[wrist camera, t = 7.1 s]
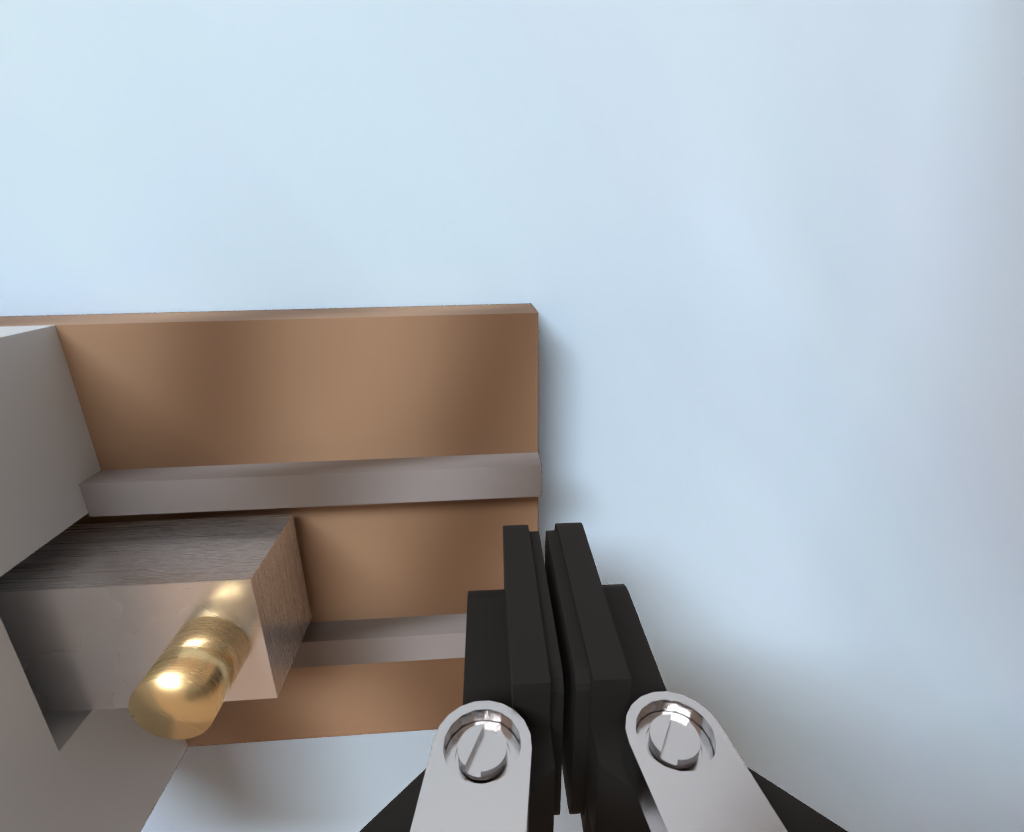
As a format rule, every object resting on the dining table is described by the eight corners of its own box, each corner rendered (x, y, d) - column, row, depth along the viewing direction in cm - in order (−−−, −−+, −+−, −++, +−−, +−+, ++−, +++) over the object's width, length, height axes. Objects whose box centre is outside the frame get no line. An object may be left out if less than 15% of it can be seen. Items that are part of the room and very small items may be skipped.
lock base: (531, 303, 13) (541, 317, 11) (532, 680, 17) (540, 744, 15) (-125, 319, 12) (-252, 338, 10) (45, 712, 16) (-20, 784, 14)
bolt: (292, 514, 12) (213, 637, 8) (311, 617, 13) (248, 767, 9) (-69, 530, 12) (-318, 668, 8) (-20, 637, 13) (-221, 800, 9)
